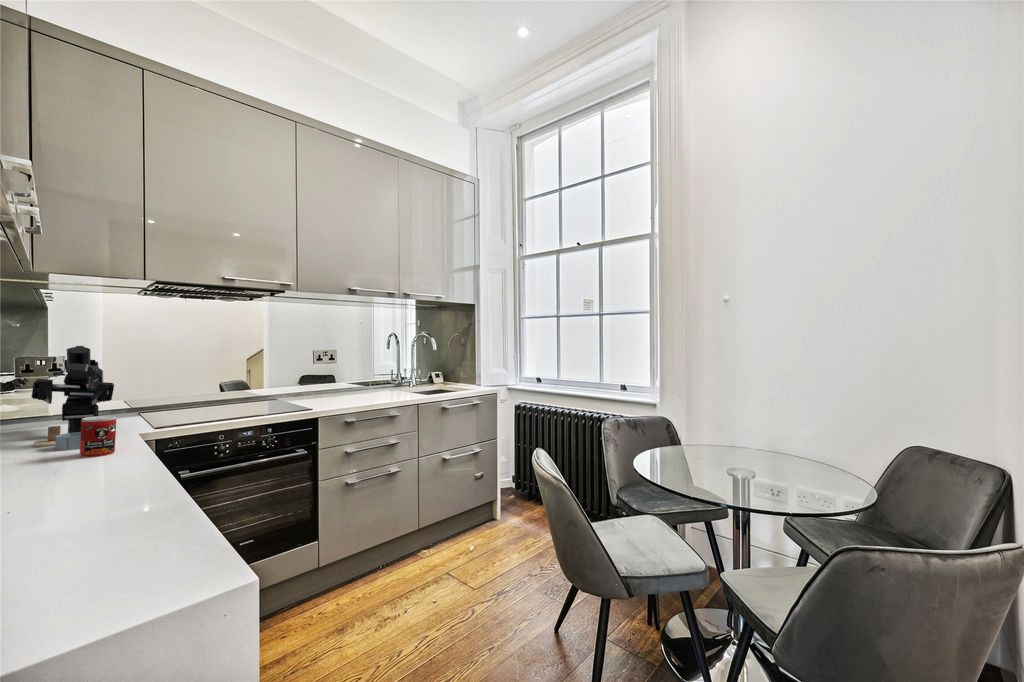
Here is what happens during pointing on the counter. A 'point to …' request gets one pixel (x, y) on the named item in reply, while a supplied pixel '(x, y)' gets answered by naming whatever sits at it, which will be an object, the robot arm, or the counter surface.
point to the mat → (41, 446)
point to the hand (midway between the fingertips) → (71, 403)
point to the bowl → (68, 441)
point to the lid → (49, 437)
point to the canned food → (97, 436)
